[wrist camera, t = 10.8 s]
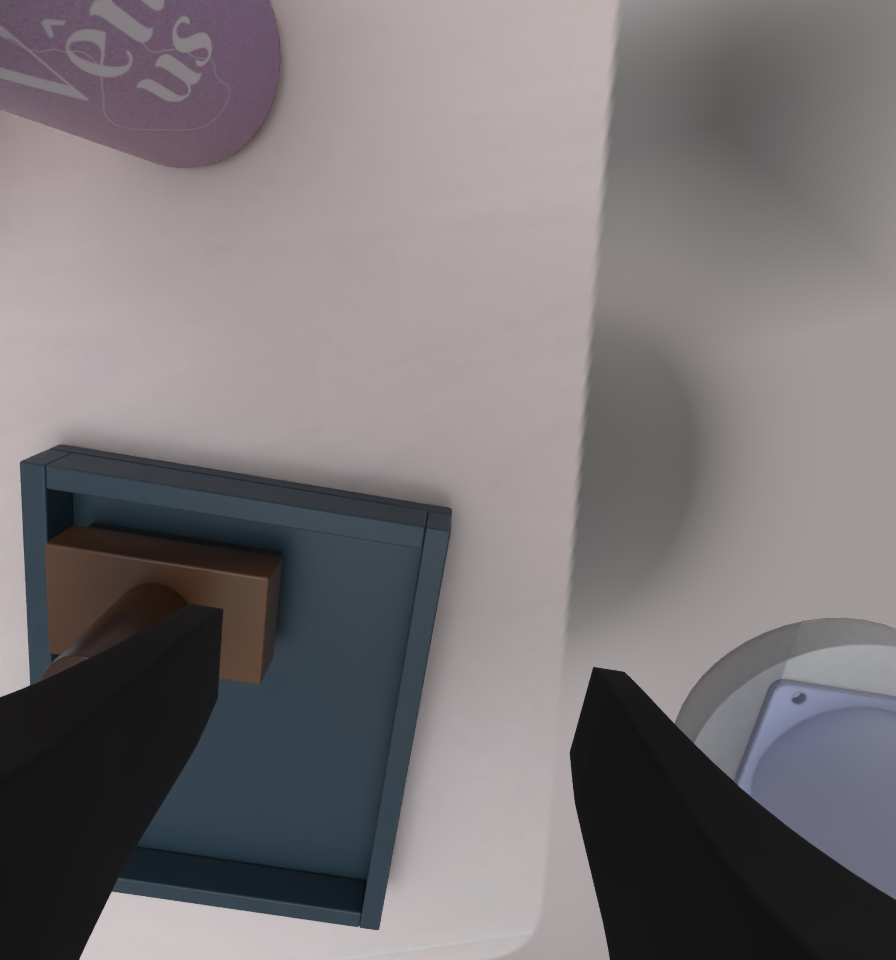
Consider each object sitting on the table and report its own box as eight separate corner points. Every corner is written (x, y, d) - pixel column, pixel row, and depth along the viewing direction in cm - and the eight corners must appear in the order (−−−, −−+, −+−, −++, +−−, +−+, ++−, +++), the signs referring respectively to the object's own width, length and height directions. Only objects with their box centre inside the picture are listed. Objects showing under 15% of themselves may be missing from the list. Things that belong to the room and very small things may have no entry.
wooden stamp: (289, 546, 22) (223, 650, 16) (280, 645, 23) (215, 776, 17) (86, 515, 22) (-57, 608, 16) (88, 616, 23) (-44, 738, 17)
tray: (452, 508, 22) (450, 531, 20) (384, 883, 28) (378, 931, 26) (59, 443, 22) (18, 460, 20) (69, 837, 27) (38, 882, 25)
